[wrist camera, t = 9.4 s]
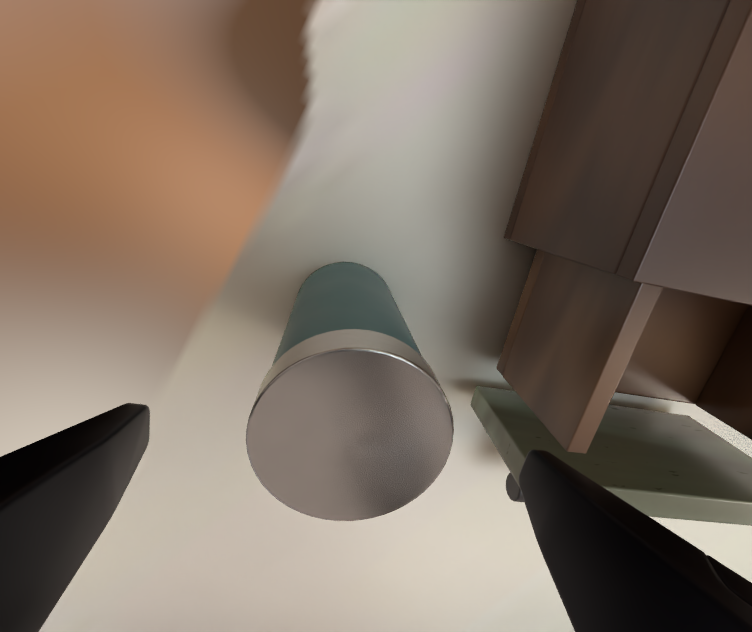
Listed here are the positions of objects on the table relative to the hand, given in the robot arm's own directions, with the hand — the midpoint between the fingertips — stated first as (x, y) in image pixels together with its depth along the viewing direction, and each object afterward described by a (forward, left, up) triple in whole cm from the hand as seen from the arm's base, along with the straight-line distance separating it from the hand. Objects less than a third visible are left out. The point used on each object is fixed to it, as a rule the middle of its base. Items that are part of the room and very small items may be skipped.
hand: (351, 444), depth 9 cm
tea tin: (0, 0, -10) cm, 10 cm away
